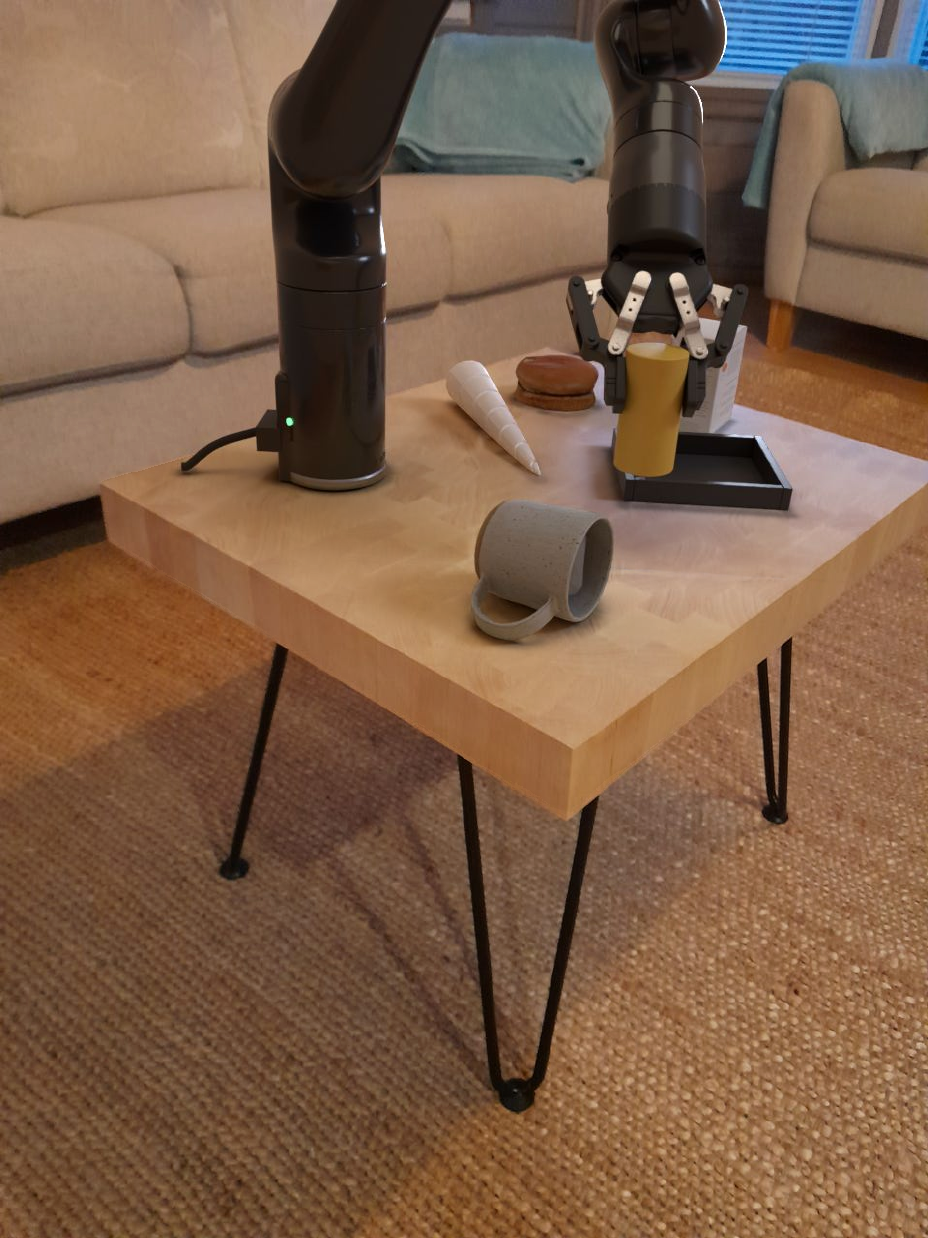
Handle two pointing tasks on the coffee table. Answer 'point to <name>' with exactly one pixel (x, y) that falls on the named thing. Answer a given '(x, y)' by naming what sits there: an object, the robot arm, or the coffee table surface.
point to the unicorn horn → (488, 409)
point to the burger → (556, 382)
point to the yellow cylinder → (651, 409)
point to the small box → (717, 384)
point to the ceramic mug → (541, 563)
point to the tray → (714, 474)
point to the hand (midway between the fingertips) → (654, 410)
